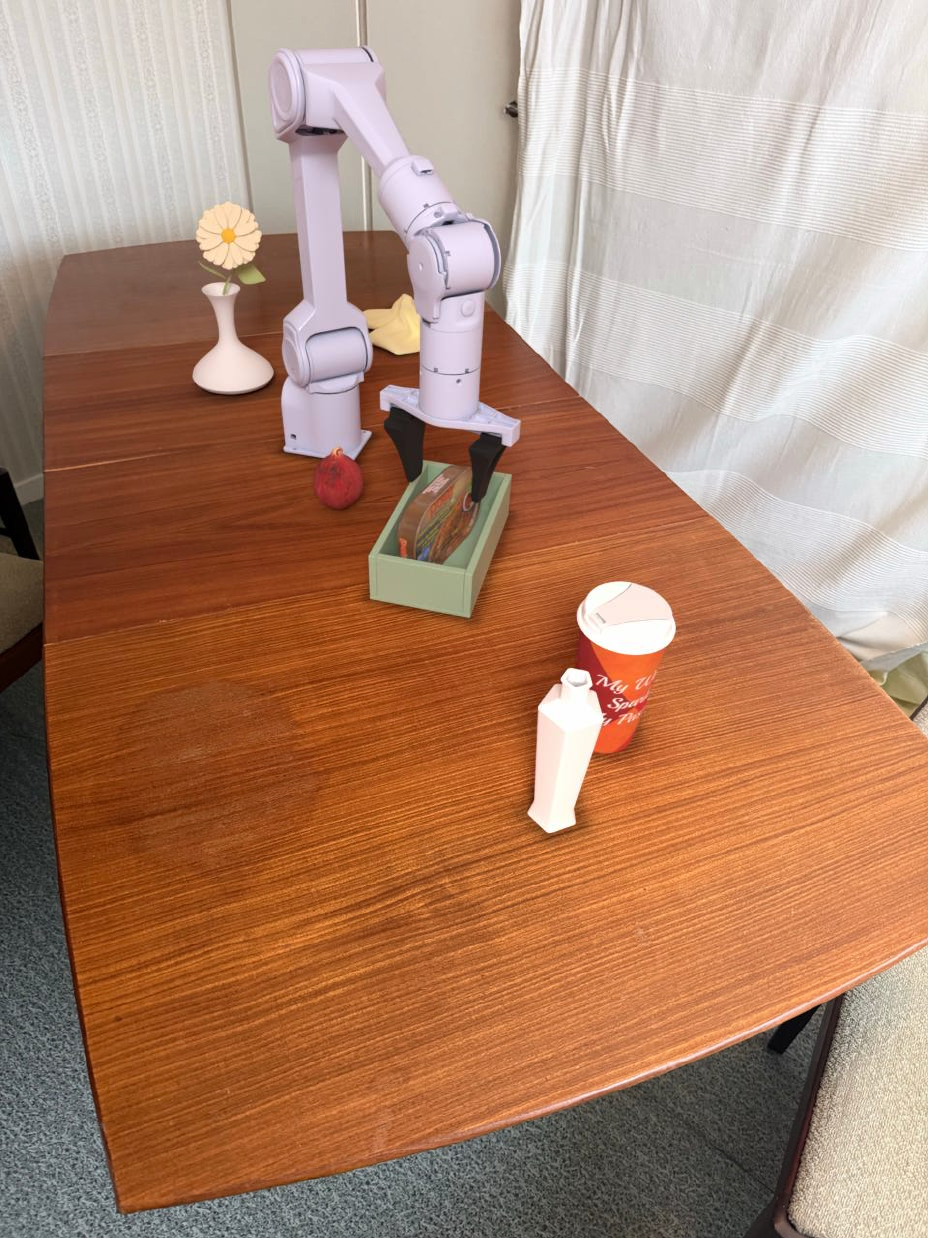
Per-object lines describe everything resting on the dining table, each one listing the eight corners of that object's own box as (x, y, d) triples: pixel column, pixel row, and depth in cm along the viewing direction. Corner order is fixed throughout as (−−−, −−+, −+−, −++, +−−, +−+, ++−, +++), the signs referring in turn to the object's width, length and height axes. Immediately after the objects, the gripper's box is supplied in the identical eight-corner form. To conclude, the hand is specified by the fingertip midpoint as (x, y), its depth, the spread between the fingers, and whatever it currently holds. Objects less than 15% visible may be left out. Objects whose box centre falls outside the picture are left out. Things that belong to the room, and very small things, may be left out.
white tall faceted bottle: (519, 790, 68) (537, 656, 58) (571, 788, 68) (598, 654, 58) (526, 838, 64) (547, 704, 54) (582, 835, 65) (613, 702, 55)
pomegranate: (356, 526, 95) (353, 464, 90) (308, 518, 96) (302, 457, 91) (370, 499, 99) (368, 439, 94) (324, 492, 100) (319, 432, 95)
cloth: (485, 347, 135) (487, 309, 131) (377, 362, 129) (376, 323, 125) (433, 299, 150) (434, 264, 146) (334, 311, 144) (332, 274, 140)
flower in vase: (178, 392, 118) (141, 202, 102) (224, 362, 126) (197, 181, 110) (256, 411, 115) (231, 218, 99) (299, 379, 123) (282, 196, 107)
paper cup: (589, 775, 69) (617, 653, 60) (541, 713, 74) (560, 592, 65) (664, 744, 72) (701, 623, 63) (613, 687, 77) (640, 567, 68)
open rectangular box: (369, 599, 85) (368, 556, 82) (422, 499, 100) (422, 459, 96) (469, 618, 84) (472, 575, 80) (508, 514, 98) (512, 474, 95)
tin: (417, 591, 86) (418, 523, 80) (391, 581, 87) (390, 514, 81) (483, 520, 96) (487, 456, 91) (459, 513, 97) (461, 448, 92)
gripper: (538, 364, 78) (525, 489, 87) (404, 331, 82) (405, 452, 91) (506, 393, 73) (496, 521, 82) (366, 355, 78) (371, 481, 86)
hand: (446, 487), depth 86 cm, fingers open, 7 cm apart
